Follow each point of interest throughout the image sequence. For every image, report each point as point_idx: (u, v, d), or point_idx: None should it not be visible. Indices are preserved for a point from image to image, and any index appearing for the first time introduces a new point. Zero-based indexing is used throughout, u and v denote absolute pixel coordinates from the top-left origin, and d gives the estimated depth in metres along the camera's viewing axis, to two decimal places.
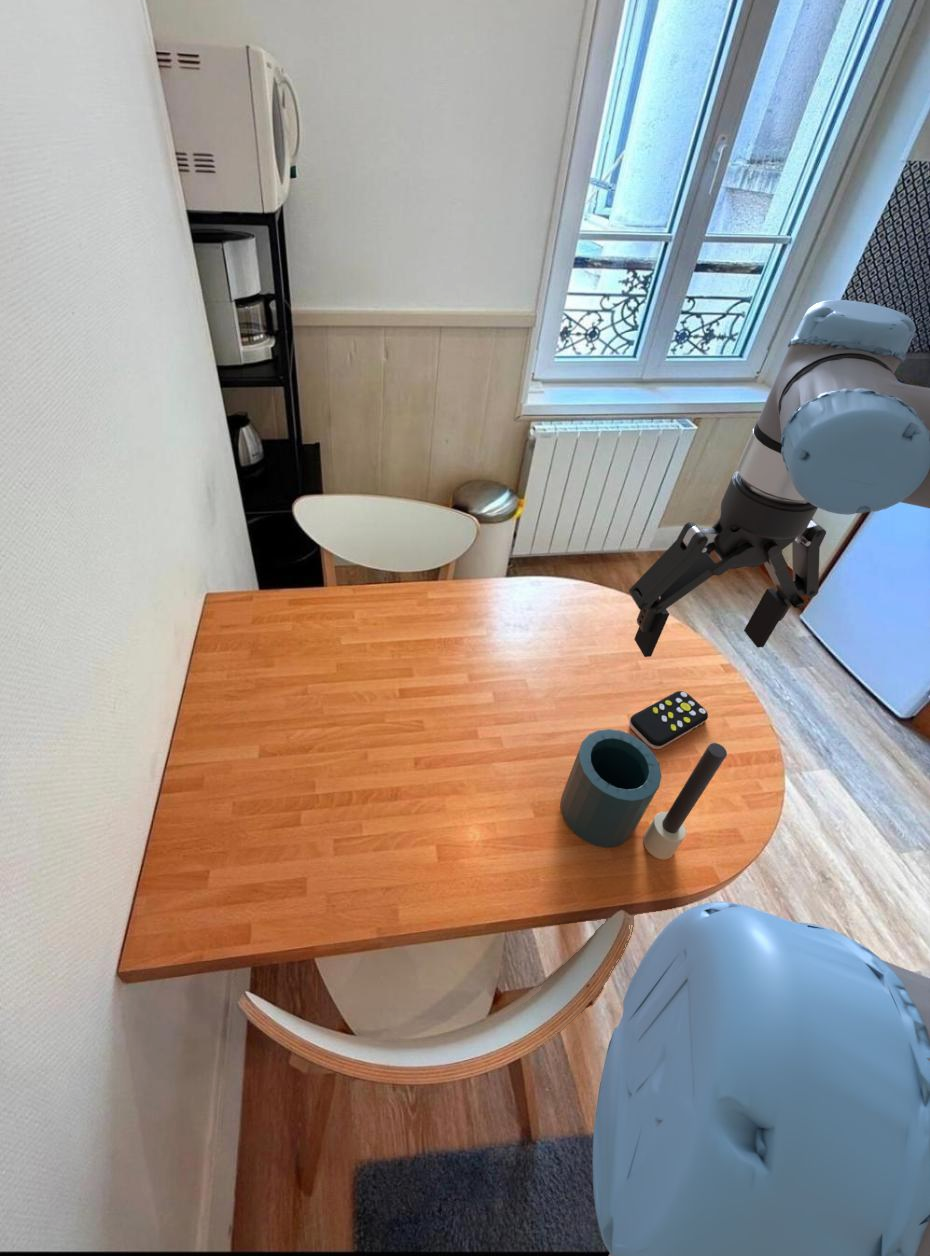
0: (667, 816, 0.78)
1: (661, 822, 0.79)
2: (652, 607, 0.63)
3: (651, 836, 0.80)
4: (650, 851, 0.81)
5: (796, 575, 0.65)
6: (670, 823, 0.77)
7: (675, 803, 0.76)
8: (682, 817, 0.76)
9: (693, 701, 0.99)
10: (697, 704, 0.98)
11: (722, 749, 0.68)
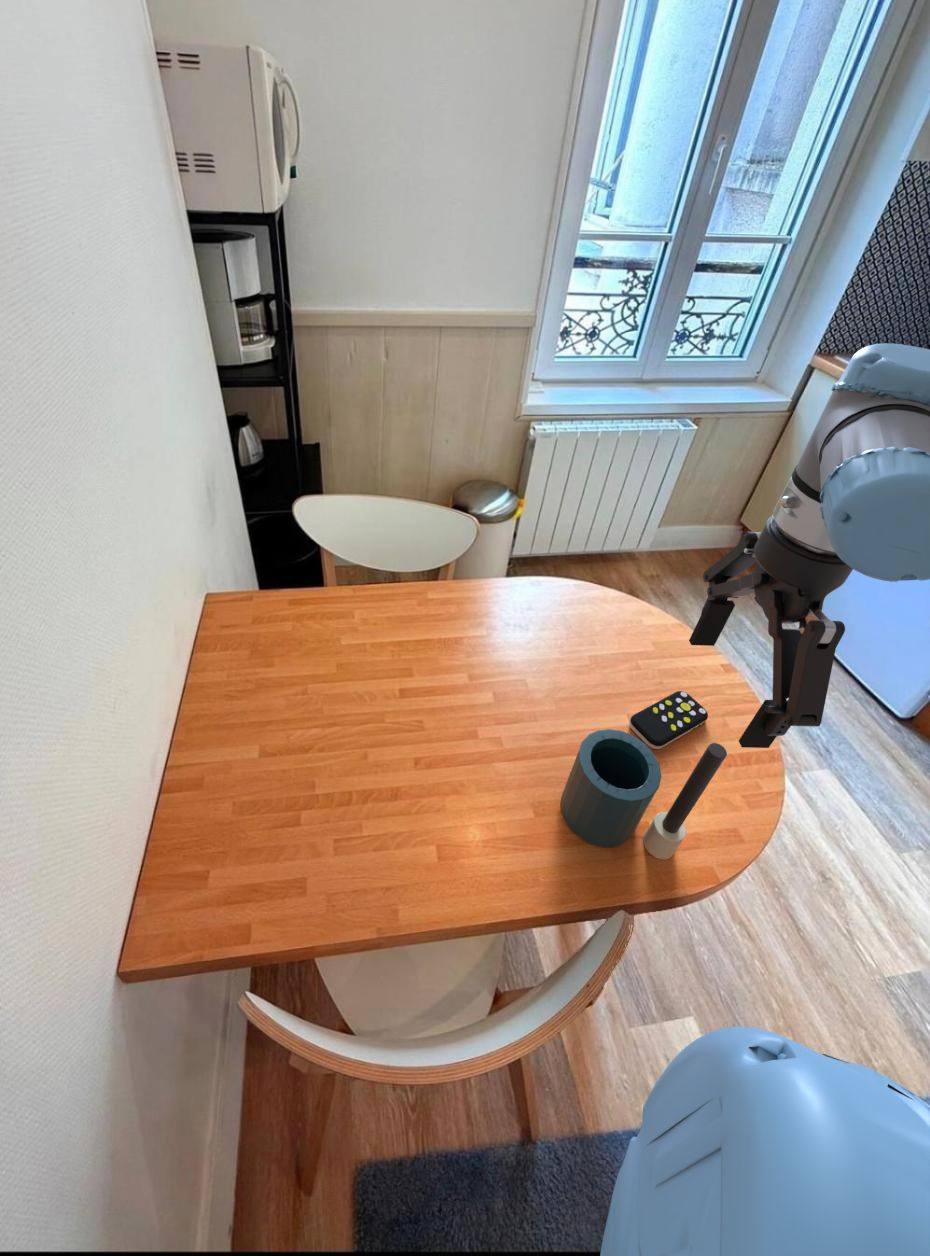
0: (667, 816, 0.78)
1: (661, 822, 0.79)
2: None
3: (651, 836, 0.80)
4: (650, 851, 0.81)
5: None
6: (670, 823, 0.77)
7: (675, 803, 0.76)
8: (682, 817, 0.76)
9: (693, 701, 0.99)
10: (697, 704, 0.98)
11: (722, 749, 0.68)
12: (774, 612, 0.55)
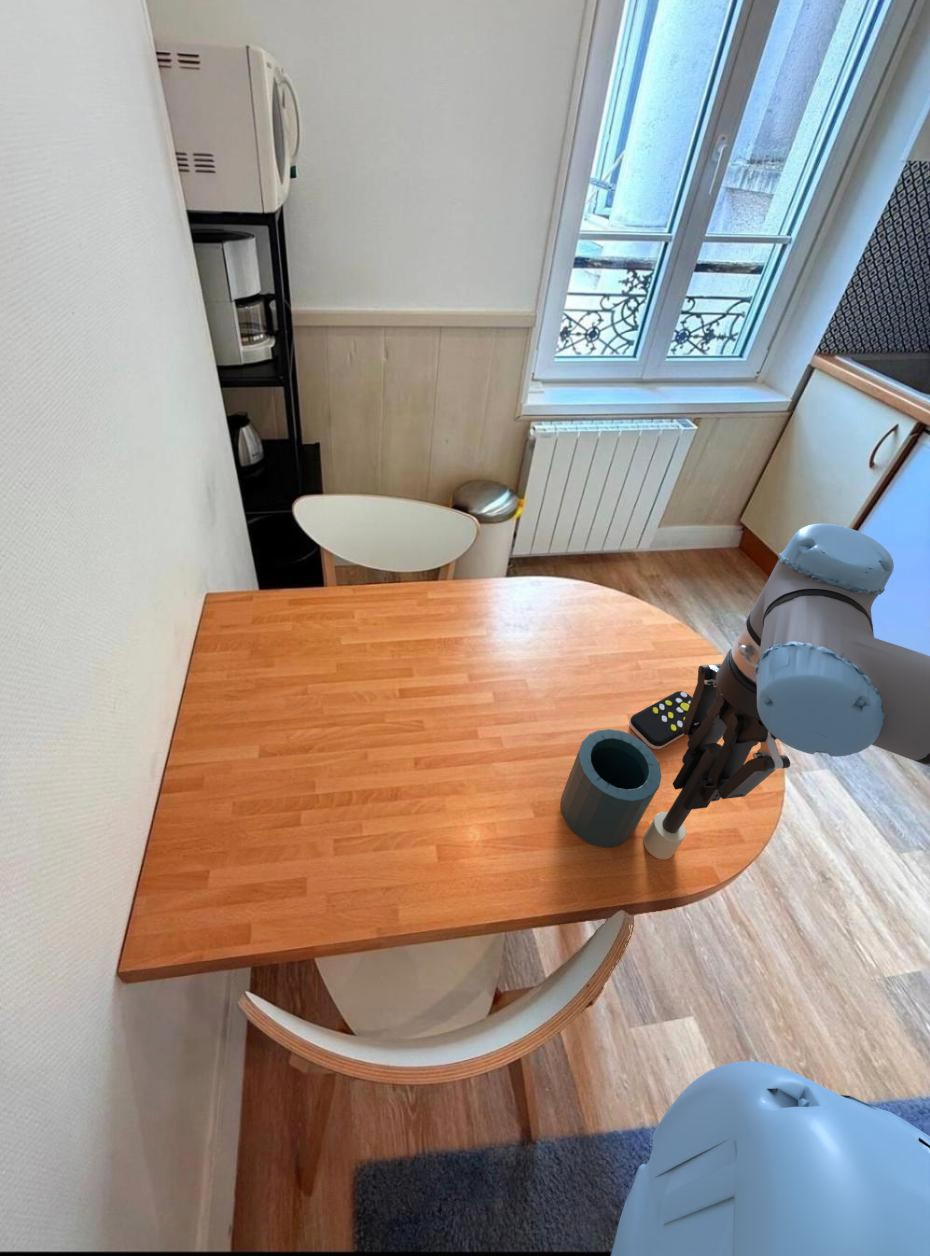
0: (667, 816, 0.78)
1: (661, 822, 0.79)
2: None
3: (651, 836, 0.80)
4: (650, 851, 0.81)
5: None
6: (670, 823, 0.77)
7: (675, 803, 0.76)
8: (682, 817, 0.76)
9: None
10: None
11: None
12: (732, 731, 0.63)
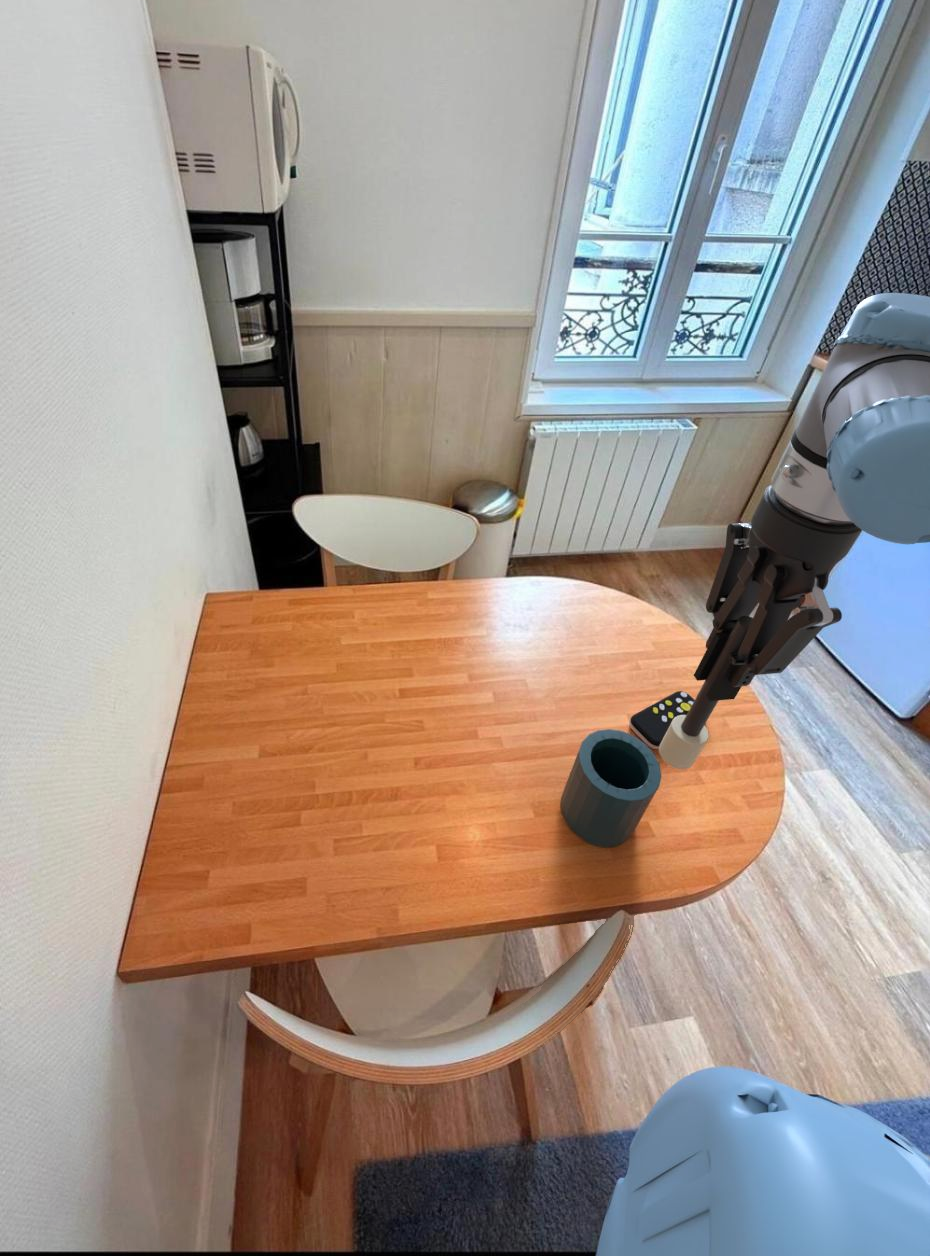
0: (687, 716, 0.68)
1: (680, 725, 0.69)
2: None
3: (668, 742, 0.70)
4: (667, 760, 0.71)
5: (719, 599, 0.61)
6: (691, 724, 0.67)
7: (697, 698, 0.65)
8: (705, 715, 0.65)
9: (693, 701, 0.99)
10: None
11: None
12: (769, 587, 0.53)
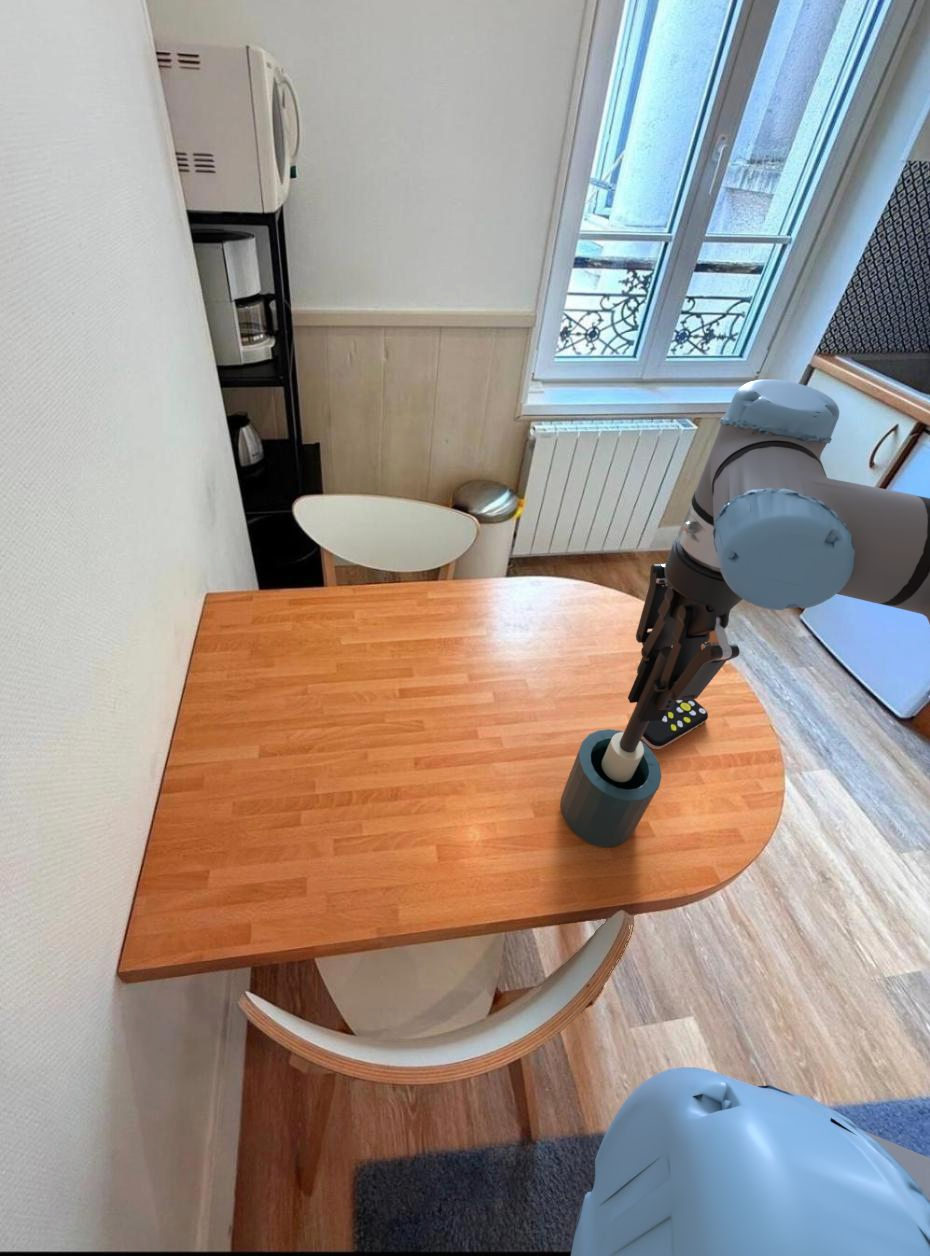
0: (624, 734, 0.74)
1: (618, 742, 0.76)
2: None
3: (608, 757, 0.76)
4: (608, 774, 0.77)
5: (646, 630, 0.68)
6: (627, 741, 0.74)
7: (631, 718, 0.72)
8: (638, 733, 0.72)
9: (693, 701, 0.99)
10: (697, 704, 0.98)
11: None
12: (681, 624, 0.59)
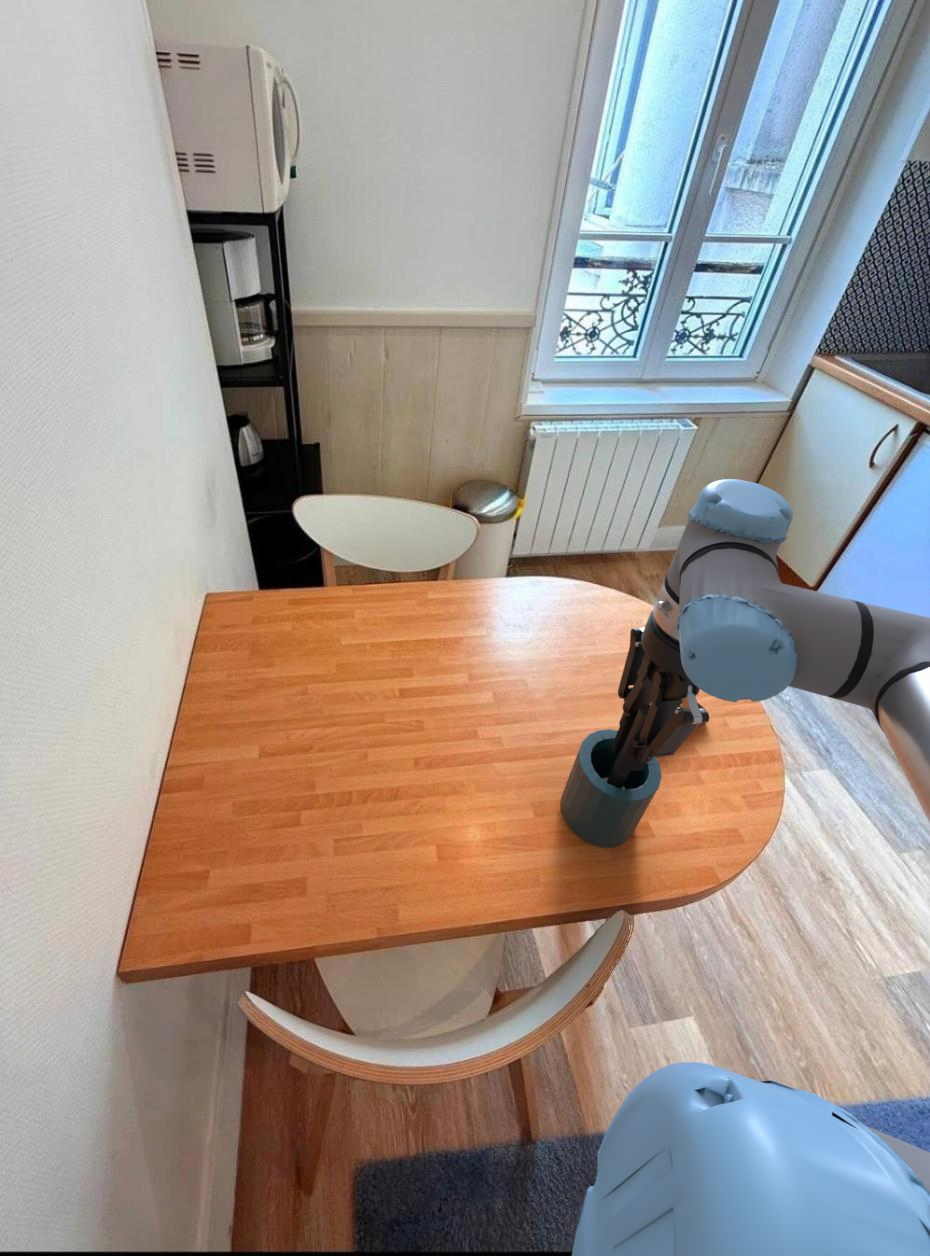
0: (607, 780, 0.79)
1: None
2: None
3: None
4: None
5: (627, 687, 0.73)
6: None
7: (614, 767, 0.77)
8: (621, 781, 0.77)
9: None
10: None
11: None
12: (657, 689, 0.64)
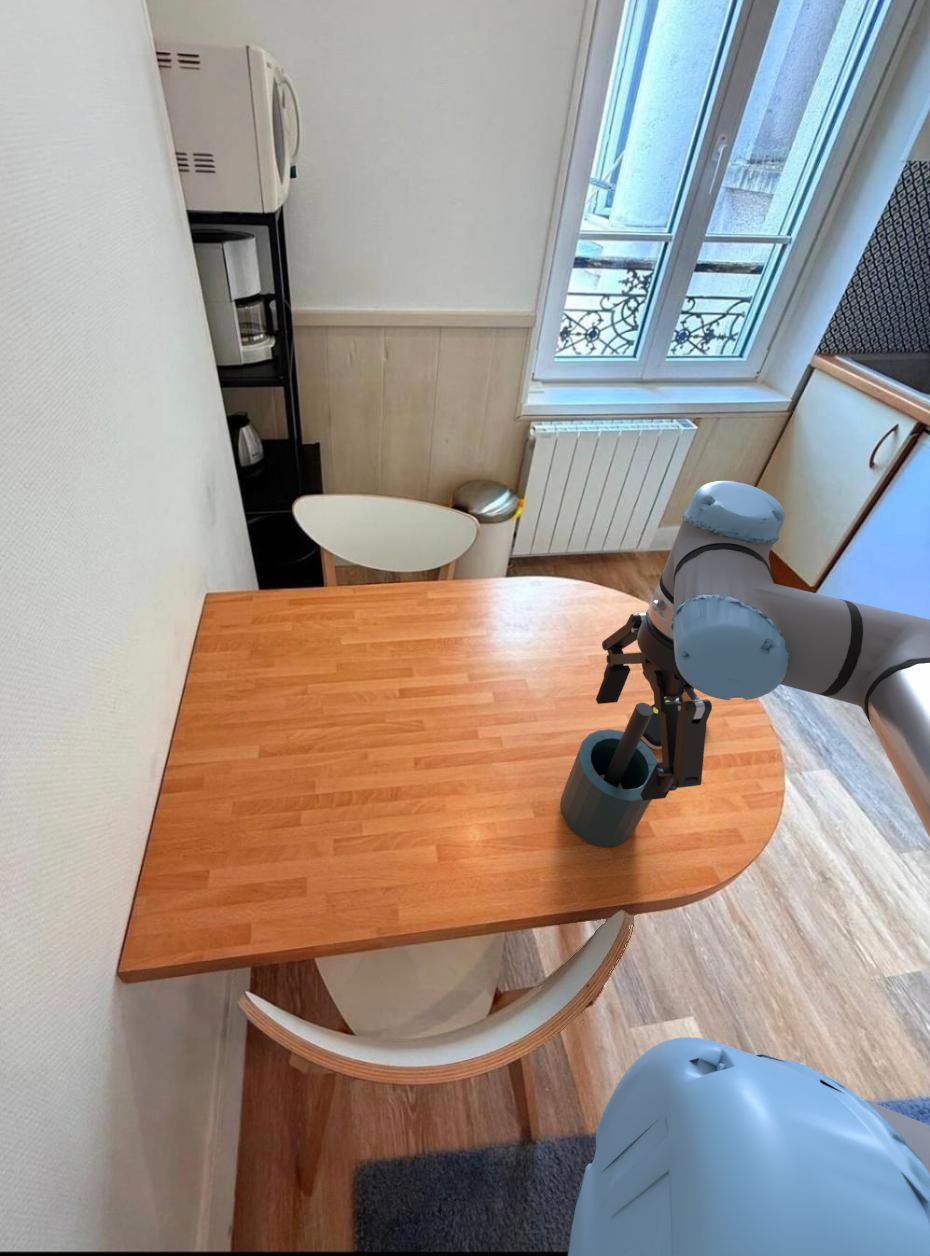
0: (604, 777, 0.80)
1: None
2: None
3: None
4: None
5: None
6: None
7: (610, 764, 0.78)
8: (617, 778, 0.78)
9: None
10: None
11: (649, 708, 0.71)
12: (657, 690, 0.64)
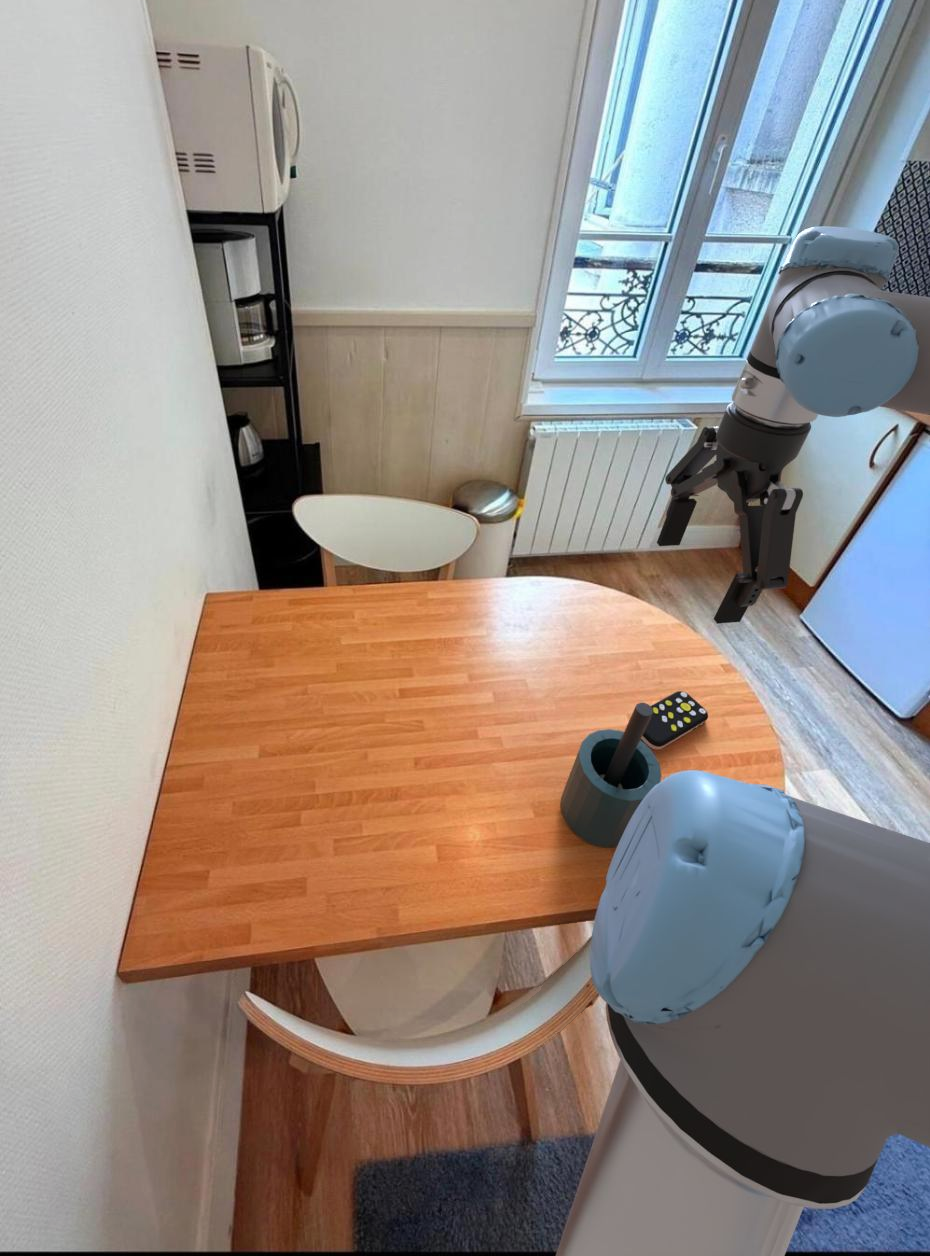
0: (604, 777, 0.80)
1: None
2: None
3: None
4: None
5: None
6: None
7: (610, 764, 0.78)
8: (617, 778, 0.78)
9: (693, 701, 0.99)
10: (697, 704, 0.98)
11: (649, 708, 0.71)
12: (738, 491, 0.61)
